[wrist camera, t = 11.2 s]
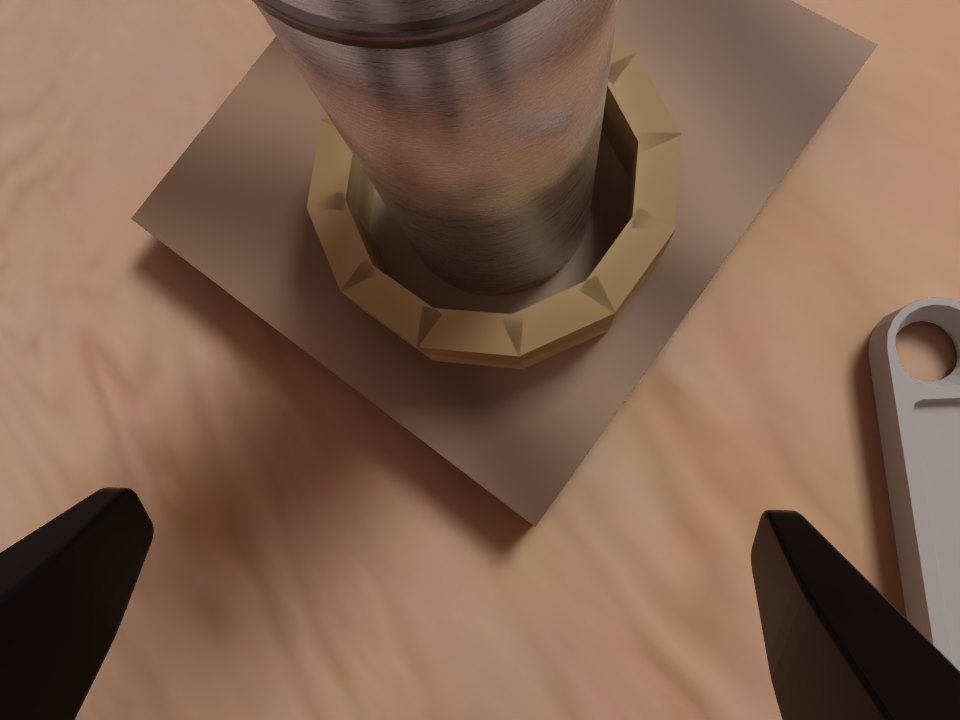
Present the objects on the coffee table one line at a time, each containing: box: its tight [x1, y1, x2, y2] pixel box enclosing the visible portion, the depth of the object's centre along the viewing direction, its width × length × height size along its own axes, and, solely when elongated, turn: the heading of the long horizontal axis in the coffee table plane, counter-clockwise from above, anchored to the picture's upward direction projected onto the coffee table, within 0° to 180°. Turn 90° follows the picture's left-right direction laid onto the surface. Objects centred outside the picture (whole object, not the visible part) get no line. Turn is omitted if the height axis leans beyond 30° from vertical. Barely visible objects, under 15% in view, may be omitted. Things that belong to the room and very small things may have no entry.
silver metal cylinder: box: [252, 0, 619, 296], centre depth 11 cm, size 5×5×12 cm
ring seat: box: [131, 0, 877, 526], centre depth 18 cm, size 16×15×4 cm
